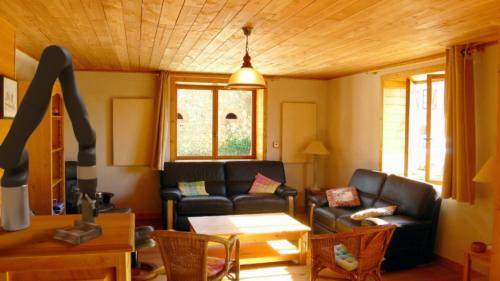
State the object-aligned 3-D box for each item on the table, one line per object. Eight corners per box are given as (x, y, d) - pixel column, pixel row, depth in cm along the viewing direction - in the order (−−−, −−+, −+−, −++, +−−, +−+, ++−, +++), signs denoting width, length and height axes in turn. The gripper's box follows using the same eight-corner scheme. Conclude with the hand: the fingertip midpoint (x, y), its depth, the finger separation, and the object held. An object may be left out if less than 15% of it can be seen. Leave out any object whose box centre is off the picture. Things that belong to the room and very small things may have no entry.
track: (53, 237, 151) (53, 227, 151) (78, 228, 161) (77, 219, 161) (78, 244, 146) (78, 234, 145) (102, 234, 156) (102, 224, 155)
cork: (91, 227, 163) (90, 201, 161) (77, 226, 164) (76, 200, 162) (99, 222, 169) (98, 197, 167) (86, 221, 170) (85, 196, 168)
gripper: (66, 175, 163) (68, 215, 165) (93, 180, 157) (94, 221, 159) (81, 172, 170) (83, 210, 172) (107, 176, 164) (108, 215, 166)
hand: (88, 215), depth 166 cm, fingers open, 7 cm apart
